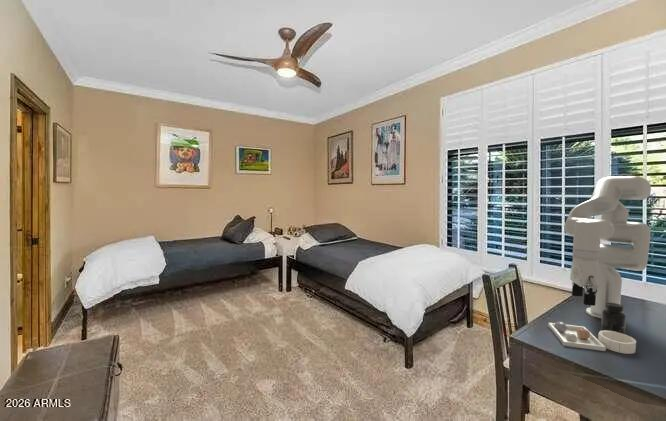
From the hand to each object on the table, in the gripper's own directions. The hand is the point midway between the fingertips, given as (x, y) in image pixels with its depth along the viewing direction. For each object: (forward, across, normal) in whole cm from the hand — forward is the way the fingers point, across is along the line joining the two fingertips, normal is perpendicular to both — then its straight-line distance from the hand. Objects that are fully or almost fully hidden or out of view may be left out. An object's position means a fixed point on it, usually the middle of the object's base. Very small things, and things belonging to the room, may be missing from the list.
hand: (583, 300), depth 112 cm
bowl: (+15, +3, +10) cm, 18 cm away
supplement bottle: (+15, -8, +13) cm, 22 cm away
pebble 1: (+15, -5, -5) cm, 16 cm away
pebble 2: (+15, +4, -4) cm, 16 cm away
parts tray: (+15, 0, -2) cm, 15 cm away
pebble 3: (+15, 0, 0) cm, 15 cm away
